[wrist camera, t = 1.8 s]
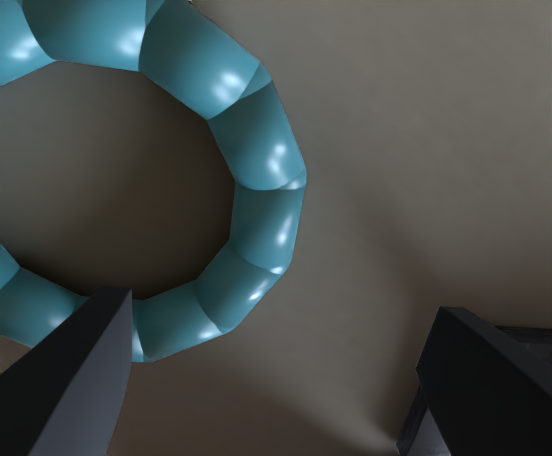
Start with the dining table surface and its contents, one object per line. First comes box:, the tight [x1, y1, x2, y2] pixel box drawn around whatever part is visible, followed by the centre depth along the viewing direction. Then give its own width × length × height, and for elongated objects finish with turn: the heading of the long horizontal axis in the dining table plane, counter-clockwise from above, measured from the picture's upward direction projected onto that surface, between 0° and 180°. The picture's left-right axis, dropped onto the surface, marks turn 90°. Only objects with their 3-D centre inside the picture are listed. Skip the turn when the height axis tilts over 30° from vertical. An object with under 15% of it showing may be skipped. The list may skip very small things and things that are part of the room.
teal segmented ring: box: [0, 0, 307, 362], centre depth 15 cm, size 14×14×2 cm
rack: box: [396, 326, 552, 456], centre depth 20 cm, size 9×9×7 cm
